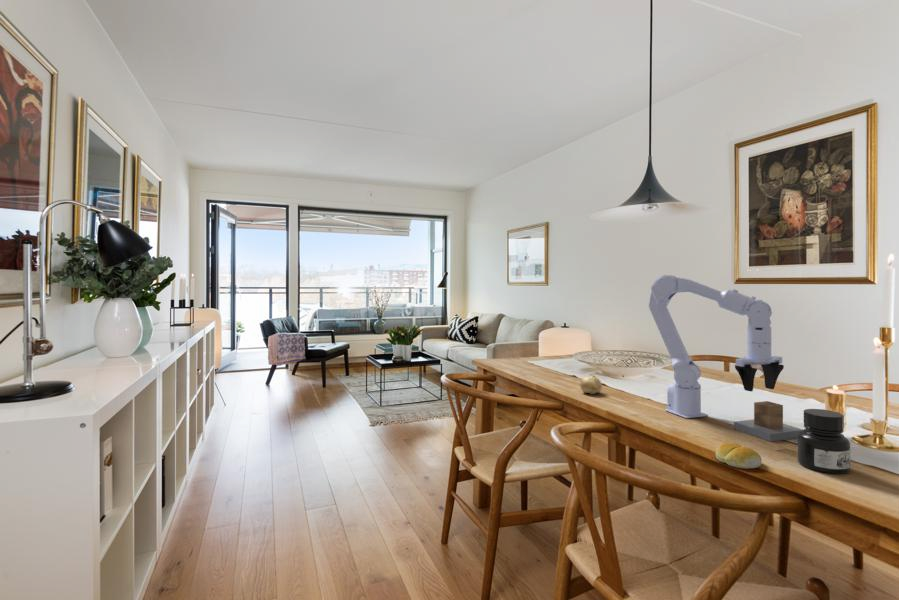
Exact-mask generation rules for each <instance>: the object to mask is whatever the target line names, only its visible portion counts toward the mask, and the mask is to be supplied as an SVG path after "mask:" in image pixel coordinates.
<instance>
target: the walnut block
mask: <svg viewBox="0 0 899 600" xmlns="http://www.w3.org/2000/svg"><path fill="white" fill-rule="evenodd" d="M753 412H754V414H753V417H754V418H753V419H754V424H755V425H758V426H761V427H764V428H768V429H775V428H783V424H784V405H783V404H779V403H777V402H772V401H769V400H767V401H765V400H763V401H755V402H754V403H753Z"/></svg>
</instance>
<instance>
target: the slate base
mask: <svg viewBox="0 0 899 600" xmlns="http://www.w3.org/2000/svg"><path fill="white" fill-rule="evenodd" d="M733 430H735V431H736V430H737V431H740V432H741V433H744V434H748V435H751V436H752V437H756V438H759V439H762V440H764V441H766V442H767V441H768V442H770V443H772V442H779V441H787V440H794V438H795V439H798V434H799V432H801V431H803V430H804V429H803V428H800V427H796V426H794V425H793V426H792V425H789V424H787V423H783V428H775V429H768V428H764V427H761V426H758V425H755V424H754V418H753V419H747V420H738V421H737V420H735V421H733Z"/></svg>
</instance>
